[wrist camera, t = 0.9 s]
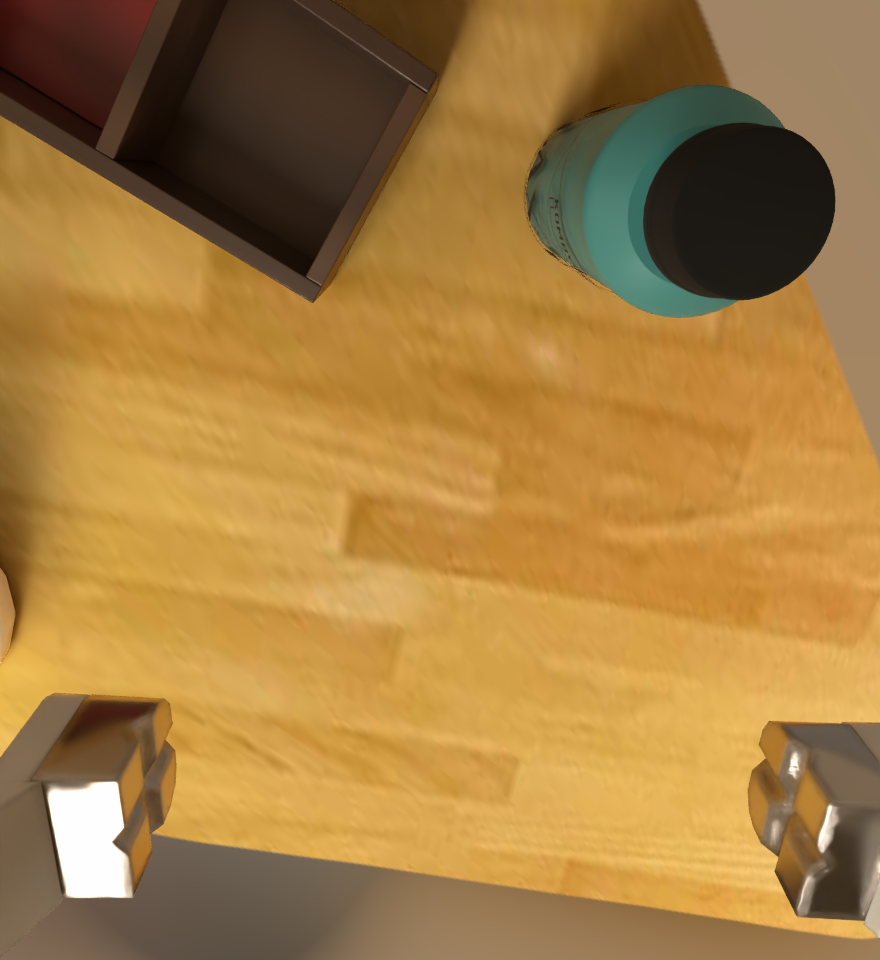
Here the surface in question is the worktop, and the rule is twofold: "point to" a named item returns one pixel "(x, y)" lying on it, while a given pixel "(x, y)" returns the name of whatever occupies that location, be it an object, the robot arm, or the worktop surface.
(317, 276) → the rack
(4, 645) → the bottle
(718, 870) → the worktop surface
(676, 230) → the beverage bottle
